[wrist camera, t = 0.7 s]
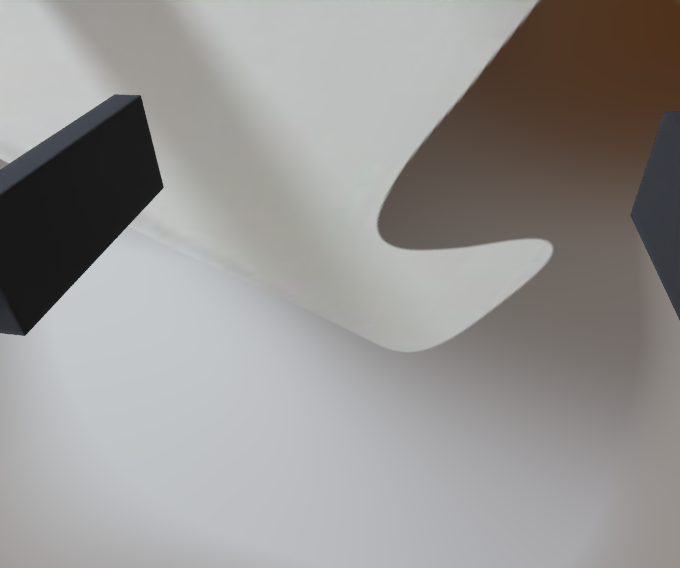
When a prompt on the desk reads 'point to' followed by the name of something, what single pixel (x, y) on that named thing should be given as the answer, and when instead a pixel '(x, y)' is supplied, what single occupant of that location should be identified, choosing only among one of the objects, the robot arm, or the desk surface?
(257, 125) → the desk surface
